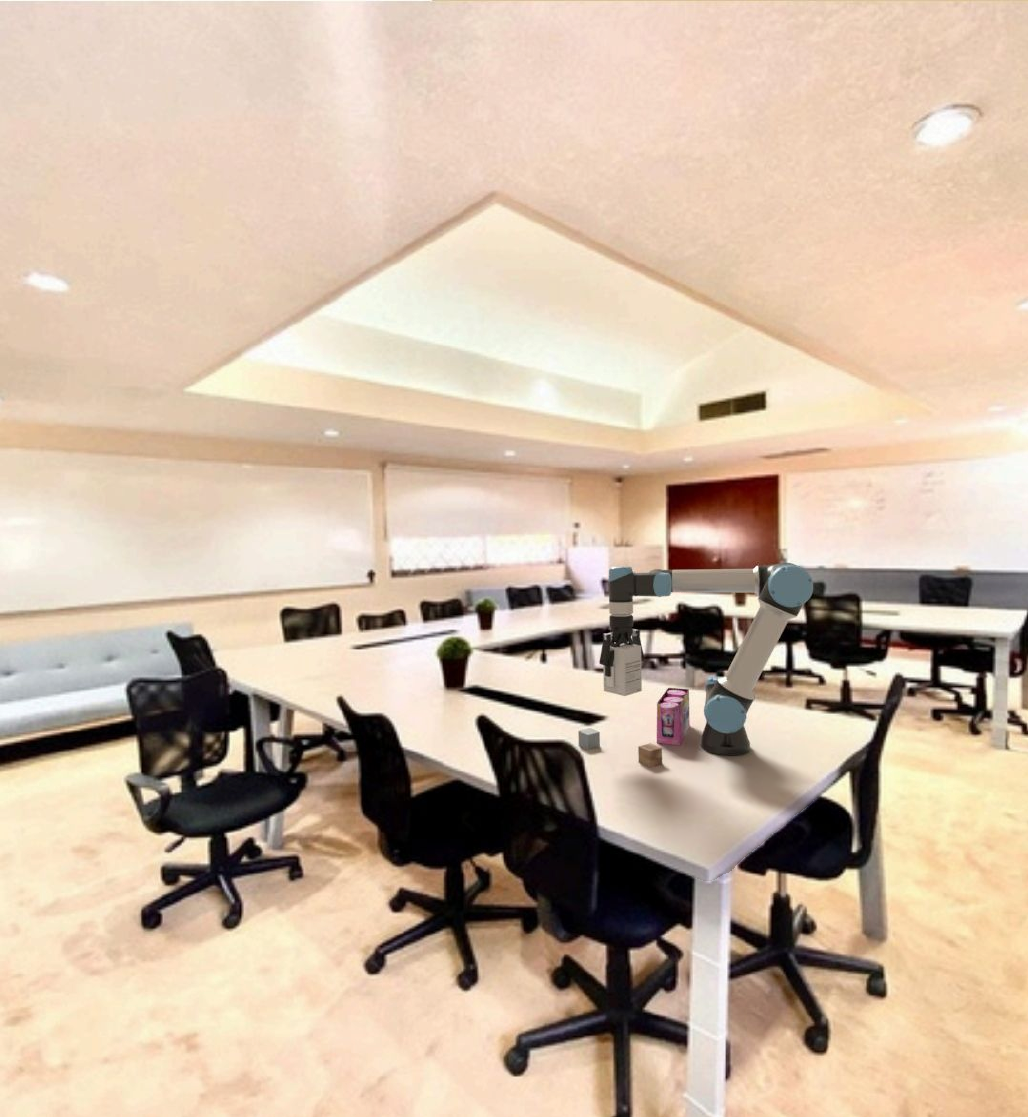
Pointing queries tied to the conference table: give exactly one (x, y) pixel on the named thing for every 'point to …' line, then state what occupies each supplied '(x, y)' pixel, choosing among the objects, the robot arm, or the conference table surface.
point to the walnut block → (650, 755)
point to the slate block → (589, 738)
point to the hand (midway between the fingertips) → (622, 683)
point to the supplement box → (625, 670)
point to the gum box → (673, 716)
